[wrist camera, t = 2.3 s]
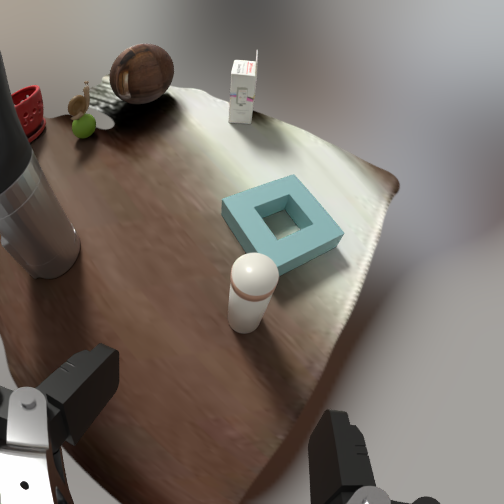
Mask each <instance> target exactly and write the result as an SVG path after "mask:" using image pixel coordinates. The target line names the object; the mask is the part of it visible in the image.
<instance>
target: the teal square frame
mask: <svg viewBox="0 0 504 504" xmlns="http://www.w3.org/2000/svg"><path fill="white" fill-rule="evenodd" d="M284 209H285V210H286V212H287V213H288V214H289V215H290V217H291V218H292V219H293V221H294V222H295V223H296V224H297V226H298V227H299V228H300V230H299V231H297V232H295V233H293V234H290V235H288V236H286V237H284V238H281V239H279V240H277V239H276V237H275V236H274V234H273V233H272V232H271V230H270V229H269V228H268V226H267V225H266V223H265V222H264V221H263V219H262V218H264V217H266V216H269V215H271V214H274V213H276V212H279V211H282V210H284ZM221 215H222V216H223V218H224V219H225V221H226V223H227V224H228V226H229V227H230V229H231V230H232V232H233V233H234V235H235V237H236V238H237V240H238V241H239V243H240V244H241V246H242V247H243V249H244V250H245V252H246V254H248V253H260V254H263V255H266V256H268V257H269V258H270V259H272V260H273V261H274V263H275V264H276V266H277V268H278V272H279V276H281V275H282V274H284V273H286V272H288V271H290V270H292V269H294V268H296V267H298V266H300V265H302V264H304V263H306V262H308V261H310V260H312V259H314V258H316V257H318V256H319V255H321V254H323V253H325V252H327V251H329V250H331V249H333V248H335V247H336V246H337V245H338V243H339V241H340V240H341V238H342V236H343V235H344V232H343V231H342V230H341V228H340V227H339V226H338V225H337V224H336V222H335V221H334V220H333V219H332V217H331V216H330V215H329V214H328V213H327V211H326V210H325V209H324V208H323V207H322V206H321V204H320V203H319V202H318V201H317V200H316V199H315V197H314V196H313V195H312V194H311V193H310V192H309V191H308V189H307V188H306V187H305V186H304V185H303V184H302V183H301V181H300V180H299V179H298V178H297V177H296V176H295V175H294V174H293V175H290V176H287V177H284V178H281V179H278V180H275V181H272V182H269V183H266V184H263V185H260V186H257V187H254V188H251V189H249V190H246V191H243V192H240V193H237V194H234V195H232V196H229V197H226V198H223V199H222V214H221Z"/></svg>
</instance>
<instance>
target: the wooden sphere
mask: <svg viewBox="0 0 504 504" xmlns="http://www.w3.org/2000/svg"><path fill="white" fill-rule="evenodd" d="M173 75H174V66H173V62H172V59H171V57H170V56H169V54H168V53H167V52H166V51H165V50H164V49H162V48H160V47H159V46H156V45H152V44H139V45H135V46H132V47H130V48H128V49H126V50H125V51H123V52H122V53H121V54H120V55H119V56H118V57H117V58H116V60H115V61H114V63H113V65H112V67H111V70H110V85H111V88H112V90H113V92H114V93H115V94H116V96H117V97H119V98H120V99H121V100H123V101H125V102H127V103H131V104H145V103H149V102H151V101H154V100H156V99H157V98H159V97H160V96H161V95H163V94H164V93H165V91H166V90H167V89H168V88H169V86H170V84H171V82H172V79H173Z"/></svg>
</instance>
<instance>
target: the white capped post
mask: <svg viewBox="0 0 504 504" xmlns="http://www.w3.org/2000/svg"><path fill="white" fill-rule="evenodd" d="M278 280H279V272H278V268H277V266H276V264H275V263H274V261H273V260H272V259H270V258H269V257H268V256H266V255H263V254H260V253H248V254H245V255H242V256H241V257H239V258H238V259H237V260H236V261H235V263H234V264H233V266H232V269H231V278H230V282H231V284H230V295H229V306H228V323H229V325H230V327H231V328H232V329H233V330H235V331H236V332H238V333H243V334H246V333H251V332H253V331H254V330H255V329H256V328H257V327H258V326H259V324H260V321H261V319H262V317H263V315H264V312H265V310H266V308H267V305H268V303H269V301H270V298H271V296H272V294H273V292H274V290H275V288H276V286H277V283H278Z"/></svg>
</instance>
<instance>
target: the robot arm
mask: <svg viewBox="0 0 504 504" xmlns="http://www.w3.org/2000/svg"><path fill="white" fill-rule="evenodd" d="M0 234H1V244H2V246H3V247H4V248H5V249H6V250H7V252H8V253H9V254H10V255H11V256H12V257H13V258H14V259H15V260H16V261H17V262H18V263H19V264H20V265H21V266H22V267H23V268H24V269H25V270H26V271H27V272H28V273H29V274H30V275H31V276H32V277H33V278H34V279H36V278H39V277H42V278H45V279H52V278H56V277H58V276H61V275H62V274H64V273H65V272H66V271H67V270H68V269H69V268H70V267H71V266H72V265H73V264H74V262H75V260H76V258H77V256H78V254H79V250H80V239H79V236H78V234H77V232H76V231H75V228H74V227H73V225H72V224H71V222H70V221H69V219H68V217H67V215H66V214H65V212H64V210H63V208H62V207H61V205H60V203H59V201H58V199H57V198H56V196H55V194H54V192H53V190H52V188H51V186H50V184H49V183H48V181H47V179H46V177H45V175H44V173H43V171H42V169H41V167H40V165H39V162H38V160H37V158H36V156H35V154H34V152H33V150H32V148H31V145H30V143H29V141H28V139H27V137H26V135H25V132H24V130H23V128H22V125H21V123H20V120H19V118H18V115H17V112H16V110H15V106H14V103H13V100H12V96H11V93H10V89H9V85H8V81H7V76H6V72H5V68H4V63H3V59H2V55H1V52H0ZM118 385H119V352H118V350H116V349H113V348H111V347H109V346H106V345H104V344H102V343H100V344H98V345H97V346H96V347H95V348H94V349H93V350H91V351H88V350H84V351H81V352H78V353H76V354H74V355H73V356H72V357H70V358H69V359H68V360H67V362H65V363H64V364H62V365H61V366H60V368H58V369H57V370H56V371H54V372H53V373H52V374H51V375H50V376H49V377H48V378H47V379H45V380H44V381H43V382H42V383H41V384H40V385H39V386H38V387H36V388H32V387H21V388H18V389H16V390H15V391H12V390H9V389H7V388H5V387H2V386H0V483H1V495H2V504H74V502H73V499H72V497H71V494H70V491H69V488H68V484H67V478H66V473H65V468H64V462H63V456H62V449H61V445H62V444H63V443H64V441H65V440H66V441H67V442H69V443H71V444H72V445H74V446H75V445H76V443H77V442H78V441H79V439H80V438H81V437H82V435H83V434H84V433H85V431H86V430H87V429H88V427H89V426H90V425H91V424H92V422H93V421H94V420H95V418H96V417H97V416H98V414H99V413H100V412H101V411H102V409H103V408H104V407H105V405H106V404H107V403H108V401H109V400H110V399H111V398H112V396H113V395H114V394H115V392H116V390H117V388H118ZM365 446H366V444H365V440H364V437H363V434H362V433H361V432H360V430H359V429H358V428H357V427H356V425H350V422H349V418H348V414H347V412H344V411H337V410H329V409H328V410H326V411H325V412H324V414H323V415H322V417H321V419H320V421H319V422H318V424H317V426H316V428H315V429H314V431H313V433H312V434H311V437H310V440H309V444H308V455H309V474H310V493H311V494H310V496H311V504H409V503H403V502H397V501H393V500H390V498H389V496H388V494H387V493H386V492H385V491H384V490H382V489H380V488H378V487H376V484H375V480H374V476H373V472H372V468H371V464H370V460H369V456H368V452H367V448H366V447H365ZM412 504H440V503H439V502H438V501H437V500H436V499H434V498H432V497H421V498H418V499H417V500H416V501H414V502H413V503H412Z"/></svg>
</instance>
